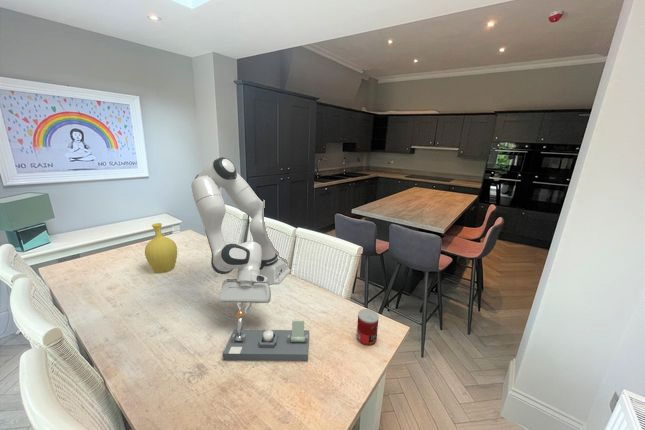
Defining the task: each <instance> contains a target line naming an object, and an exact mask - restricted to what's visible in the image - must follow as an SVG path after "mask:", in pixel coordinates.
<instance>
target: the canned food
mask: <svg viewBox="0 0 645 430" xmlns="http://www.w3.org/2000/svg"><path fill="white" fill-rule="evenodd" d="M356 327H357V328H356V338H357V340H358V342H359V343H361V344H362V345H364V346H371V345H374V344H375V343H376V342H377V340H378V339H377V338H378V331H379V330H378V329H379V314H378V312H376V311H374V310H372V309H369V308H363V309H360V310H359V311H358V314H357V326H356Z"/></svg>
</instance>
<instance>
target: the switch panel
mask: <svg viewBox="0 0 645 430" xmlns="http://www.w3.org/2000/svg"><path fill="white" fill-rule="evenodd" d="M266 330H267V329H242V334H241V335H243V337H242V341H235V336H236V335H237V329H235V328H234V329H233V330H232V333H231V335H230V337H229V339H228V341H227V342H226V346H225V348H224V349H223V350H224V351H223V352H222V357H223V359H222V360H223V361H245V362H246V361H254V362H255V361H257V362H258V361H259V362H260V361H261V362H262V361H263V362H264V361H265V362H308V361H309V347H310V330H308V329H307V330H306V329H304V336H305V342H291V336H292V329H271V330H272V331H273V340H272V341H271V342H265V341H264V338H263V333H264V332H265V331H266Z"/></svg>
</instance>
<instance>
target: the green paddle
mask: <svg viewBox="0 0 645 430" xmlns="http://www.w3.org/2000/svg"><path fill="white" fill-rule="evenodd" d="M291 330H292V336H291V342H305V336H304V330H305V320H292V323H291Z"/></svg>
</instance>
